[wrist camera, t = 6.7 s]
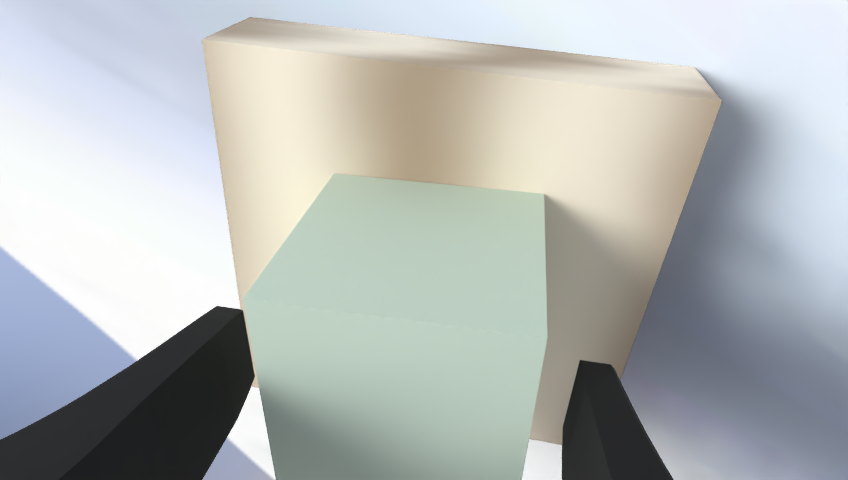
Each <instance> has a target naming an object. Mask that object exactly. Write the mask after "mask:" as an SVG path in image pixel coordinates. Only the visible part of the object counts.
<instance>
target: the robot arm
mask: <svg viewBox="0 0 848 480" xmlns="http://www.w3.org/2000/svg"><path fill="white" fill-rule="evenodd" d="M254 378H255V374H254V369H253V363H252V357H251V352H250V346H249V341H248V335H247V329H246V324H245V318H244V312H243V310H240V309H233V308H227V307H220V306H216V307H215V308H213V309H212V310H210V311H209V312H207V313H206V314H204V315H203V316H201V317H200V318H198V319H197V320H196V321H194V322H193V323H191V324H190V325H188V326H187V327H186V328H184V329H183V330H181V331H180V332H178V333H177V334H176V335H174V336H173V337H171V338H170V339H169V340H167V341H166V342H164V343H163V344H161V345H160V346H158V347H157V348H155V349H154V350H152V351H151V352H150V353H148V354H147V355H145V356H144V357H142V358H141V359H139V360H138V361H136V362H135V363H134V364H132V365H130V366H129V367H127V368H126V369H124V370H123V371H121V372H119V373H118V374H116V375H115V376H113V377H112V378H110V379H108V380H107V381H105V382H104V383H102V384H100V385H99V386H98V387H96V388H94V389H92V390H91V391H89V392H88V393H86V394H85V395H83V396H81V397H80V398H78V399H76V400H74V401H73V402H71V403H69V404H68V405H66V406H64V407H62V408H61V409H59V410H57V411H55V412H53V413H52V414H50V415H48V416H46V417H44V418H42V419H41V420H39V421H37V422H35V423H33V424H31V425H29V426H27V427H25V428H23V429H21V430H20V431H18V432H16V433H14V434H12V435H9V436H8V437H5V438H3V439H1V440H0V480H202V479H203V477H204V476H205V474H206V472H207V470H208V469H209V467H210V465H211V464H212V462H213V460H214V459H215V457H216V455H217V453H218V452H219V450H220V448H221V447H222V445H223V443H224V441H225V440H226V438H227V436H228V434H229V433H230V431H231V429H232V427H233V426H234V424H235V422H236V420H237V418H238V416H239V414H240V412H241V409H242V407H243V405H244V402H245V400H246V398H247V395H248V393H249V390H250V388H251V385H252V383H253V381H254ZM562 480H674V479H673V478H672V476H671V475H670V473H669V471H668V470H667V468H666V466H665V465H664V463H663V461H662V459H661V458H660V456H659V454H658V452H657V451H656V449H655V447H654V445H653V444H652V442H651V440H650V438H649V437H648V435H647V433H646V431H645V429H644V428H643V426H642V424H641V422H640V420H639V418H638V416H637V414H636V412H635V410H634V408H633V406H632V404H631V402H630V400H629V398H628V396H627V394H626V392H625V390H624V388H623V386H622V384H621V381H620V379H619V377H618V375H617V373H616V370H615V369H614V368H613V366H612V365H611V364H605V363H598V362H591V361H584V360H580V361H579V365H578V369H577V373H576V377H575V381H574V385H573V389H572V393H571V396H570V400H569V404H568V408H567V412H566V416H565V420H564V424H563V432H562Z"/></svg>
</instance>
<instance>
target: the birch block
mask: <svg viewBox="0 0 848 480" xmlns="http://www.w3.org/2000/svg"><path fill="white" fill-rule="evenodd" d="M202 43H203V50H204V57H205V64H206V71H207V78H208V85H209V92H210V99H211V106H212V113H213V120H214V127H215V134H216V140H217V147H218V154H219V161H220V168H221V175H222V182H223V189H224V196H225V203H226V210H227V217H228V224H229V231H230V238H231V245H232V252H233V259H234V266H235V273H236V280H237V287H238V294H239V301H240V308H241V310H243V312H244V318H245V324H246V329H247V335H248V341H249V346H250V352H251V357H252V363H253V369H254V374H255V378H254V381H253V383H252V387H258V388H259V384H258V378H257V373H256V367H255V362H254V356H253V351H252V346H251V340H250V335H249V329H248V324H247V318H246V313H245V307H244V302H243V298H244V296H245V295H246V294H247V292H248V291H249V290H250V288H251V287H252V285H253V284H254V283H255V281H256V280H257V279H258V277H259V276H260V274H261V273H262V272H263V270H264V269H265V268H266V266H267V265H268V263H269V262H270V261H271V259H272V258H273V257H274V255H275V254H276V252H277V251H278V250H279V248H280V247H281V246H282V244H283V243H284V241H285V240H286V239H287V237H288V236H289V235H290V233H291V232H292V230H293V229H294V228H295V226H296V225H297V224H298V222H299V221H300V219H301V218H302V217H303V215H304V214H305V213H306V211H307V210H308V208H309V207H310V206H311V204H312V203H313V202H314V200H315V199H316V198H317V196H318V195H319V193H320V192H321V191H322V189H323V188H324V187H325V185H326V184H327V182H328V181H329V180H330V178H331V177H332V176H333V174H344V175H354V176H365V177H375V178H385V179H396V180H406V181H416V182H427V183H437V184H447V185H458V186H468V187H478V188H489V189H499V190H510V191H520V192H530V193H541V194H544V212H545V254H546V296H547V343H546V349H545V354H544V360H543V365H542V371H541V376H540V382H539V387H538V393H537V398H536V403H535V409H534V414H533V420H532V425H531V431H530V436H529V439H533V440H539V441H544V442H549V443H554V444H560V445H562V432H563V424H564V420H565V416H566V412H567V408H568V404H569V400H570V396H571V393H572V389H573V385H574V381H575V377H576V373H577V369H578V365H579V361H580V360H584V361H591V362H598V363H605V364H611V365H612V366H613V368H614V369H615V370H616V373H617V375H618V377H619V379H621V376H622V373H623V370H624V368H625V365H626V362H627V359H628V357H629V354H630V351H631V349H632V346H633V343H634V340H635V338H636V335H637V332H638V329H639V327H640V324H641V321H642V318H643V316H644V313H645V310H646V308H647V305H648V302H649V299H650V297H651V294H652V291H653V288H654V286H655V283H656V280H657V277H658V275H659V272H660V269H661V267H662V264H663V261H664V258H665V256H666V253H667V250H668V247H669V245H670V242H671V239H672V237H673V234H674V231H675V228H676V226H677V223H678V220H679V217H680V215H681V212H682V209H683V206H684V204H685V201H686V198H687V196H688V193H689V190H690V187H691V185H692V182H693V179H694V176H695V174H696V171H697V168H698V165H699V163H700V160H701V157H702V155H703V152H704V149H705V146H706V144H707V141H708V138H709V135H710V133H711V130H712V127H713V124H714V122H715V119H716V116H717V114H718V111H719V108H720V105H721V103H722V100H721V99H720V97H719V96H718V95H717V94H716V93H715V91H714V90H713V89H712V88H711V87H710V85H709V84H708V83H707V82H706V81H705V79H704V78H703V77H702V76H701V75H700V73H699V72H698V71H697V70H696V69H695V67H690V66H681V65H672V64H663V63H654V62H645V61H636V60H627V59H618V58H610V57H601V56H592V55H583V54H574V53H565V52H556V51H547V50H538V49H529V48H520V47H512V46H503V45H494V44H485V43H476V42H467V41H458V40H449V39H440V38H431V37H423V36H414V35H405V34H396V33H387V32H378V31H369V30H360V29H351V28H342V27H334V26H325V25H316V24H307V23H298V22H289V21H280V20H271V19H262V18H253V17H249V18H247V19H245V20H243V21H241V22H238V23H236V24H234V25H232V26H230V27H228V28H225V29H223V30H221V31H219V32H217V33H214V34H212V35H210V36H208V37H206V38H204V39H202Z"/></svg>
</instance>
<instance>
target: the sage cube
mask: <svg viewBox="0 0 848 480" xmlns="http://www.w3.org/2000/svg"><path fill="white" fill-rule="evenodd" d="M243 302H244V307H245V313H246V318H247V324H248V329H249V335H250V340H251V346H252V351H253V356H254V362H255V367H256V373H257V378H258V384H259V389H260V395H261V400H262V405H263V411H264V416H265V422H266V427H267V433H268V438H269V444H270V449H271V455H272V460H273V465H274V471H275V476H276V480H522V474H523V469H524V463H525V458H526V452H527V447H528V442H529V436H530V431H531V425H532V420H533V414H534V409H535V403H536V398H537V393H538V387H539V382H540V376H541V371H542V365H543V360H544V354H545V349H546V343H547V296H546V254H545V212H544V194H541V193H530V192H520V191H510V190H499V189H489V188H478V187H468V186H458V185H447V184H437V183H427V182H416V181H406V180H396V179H385V178H375V177H365V176H354V175H344V174H333V176H332V177H331V178H330V180H329V181H328V182H327V184H326V185H325V187H324V188H323V189H322V191H321V192H320V193H319V195H318V196H317V198H316V199H315V200H314V202H313V203H312V204H311V206H310V207H309V208H308V210H307V211H306V213H305V214H304V215H303V217H302V218H301V219H300V221H299V222H298V224H297V225H296V226H295V228H294V229H293V230H292V232H291V233H290V235H289V236H288V237H287V239H286V240H285V241H284V243H283V244H282V246H281V247H280V248H279V250H278V251H277V252H276V254H275V255H274V257H273V258H272V259H271V261H270V262H269V263H268V265H267V266H266V268H265V269H264V270H263V272H262V273H261V274H260V276H259V277H258V279H257V280H256V281H255V283H254V284H253V285H252V287H251V288H250V290H249V291H248V292H247V294H246V295H245V296H244V298H243Z"/></svg>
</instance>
